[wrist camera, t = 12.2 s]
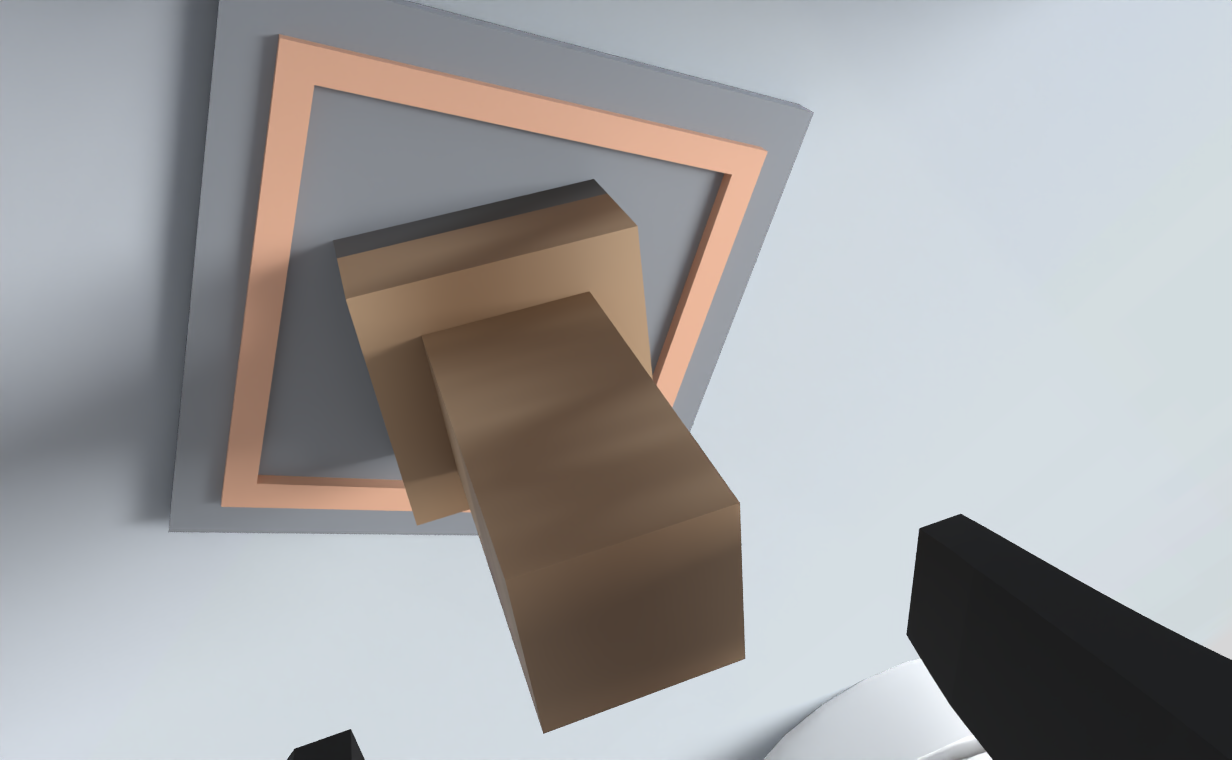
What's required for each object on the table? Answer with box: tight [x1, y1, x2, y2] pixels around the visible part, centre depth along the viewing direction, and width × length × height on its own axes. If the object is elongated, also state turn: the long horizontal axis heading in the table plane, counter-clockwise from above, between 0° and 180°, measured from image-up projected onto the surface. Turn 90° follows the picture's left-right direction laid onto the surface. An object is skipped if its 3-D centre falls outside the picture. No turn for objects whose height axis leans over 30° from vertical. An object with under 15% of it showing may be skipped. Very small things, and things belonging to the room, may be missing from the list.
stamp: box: [333, 179, 745, 734], centre depth 15 cm, size 5×5×8 cm
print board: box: [169, 0, 814, 535], centre depth 19 cm, size 11×11×1 cm
